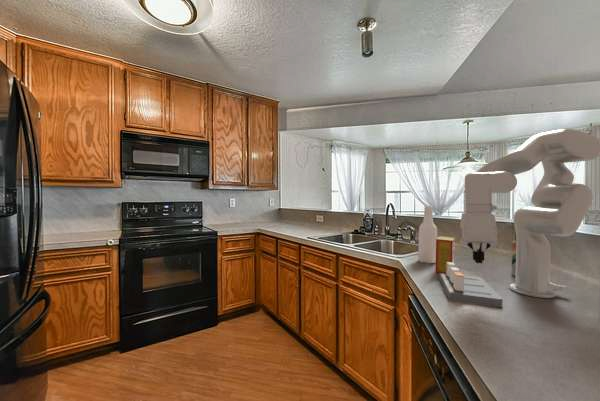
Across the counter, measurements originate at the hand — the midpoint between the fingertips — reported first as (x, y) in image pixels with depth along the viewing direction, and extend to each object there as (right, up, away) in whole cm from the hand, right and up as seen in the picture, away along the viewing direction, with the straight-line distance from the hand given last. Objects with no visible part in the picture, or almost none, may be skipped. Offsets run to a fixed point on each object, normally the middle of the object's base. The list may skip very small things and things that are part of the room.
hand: (478, 262), depth 90 cm
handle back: (0, -9, +17) cm, 19 cm away
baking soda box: (+6, -12, +32) cm, 35 cm away
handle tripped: (-6, -10, +2) cm, 11 cm away
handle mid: (-3, -10, +9) cm, 14 cm away
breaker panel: (+1, -13, +8) cm, 15 cm away
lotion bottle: (+36, -13, +27) cm, 47 cm away
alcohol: (+7, -12, +51) cm, 52 cm away
